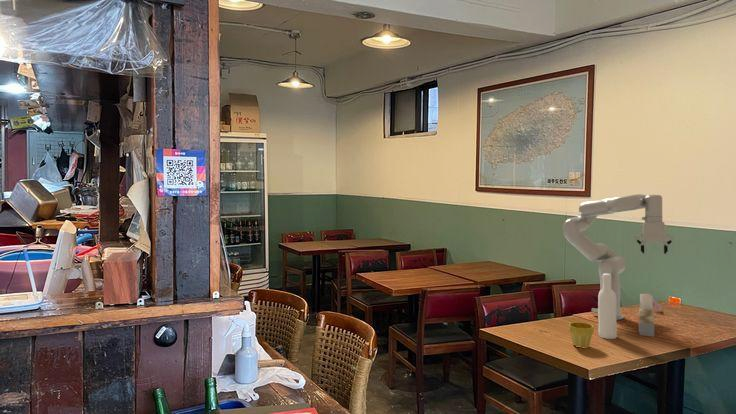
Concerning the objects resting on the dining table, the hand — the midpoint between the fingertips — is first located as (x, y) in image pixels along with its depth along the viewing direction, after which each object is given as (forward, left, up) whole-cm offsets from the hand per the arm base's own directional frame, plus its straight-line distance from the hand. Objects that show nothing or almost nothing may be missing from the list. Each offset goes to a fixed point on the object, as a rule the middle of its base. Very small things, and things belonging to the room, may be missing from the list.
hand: (654, 253), depth 255 cm
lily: (+2, +27, -37) cm, 46 cm away
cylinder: (-5, -18, -24) cm, 31 cm away
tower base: (-5, -18, -36) cm, 41 cm away
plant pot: (-33, -46, -36) cm, 67 cm away
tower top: (-5, -18, -30) cm, 36 cm away
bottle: (-22, -28, -36) cm, 51 cm away
